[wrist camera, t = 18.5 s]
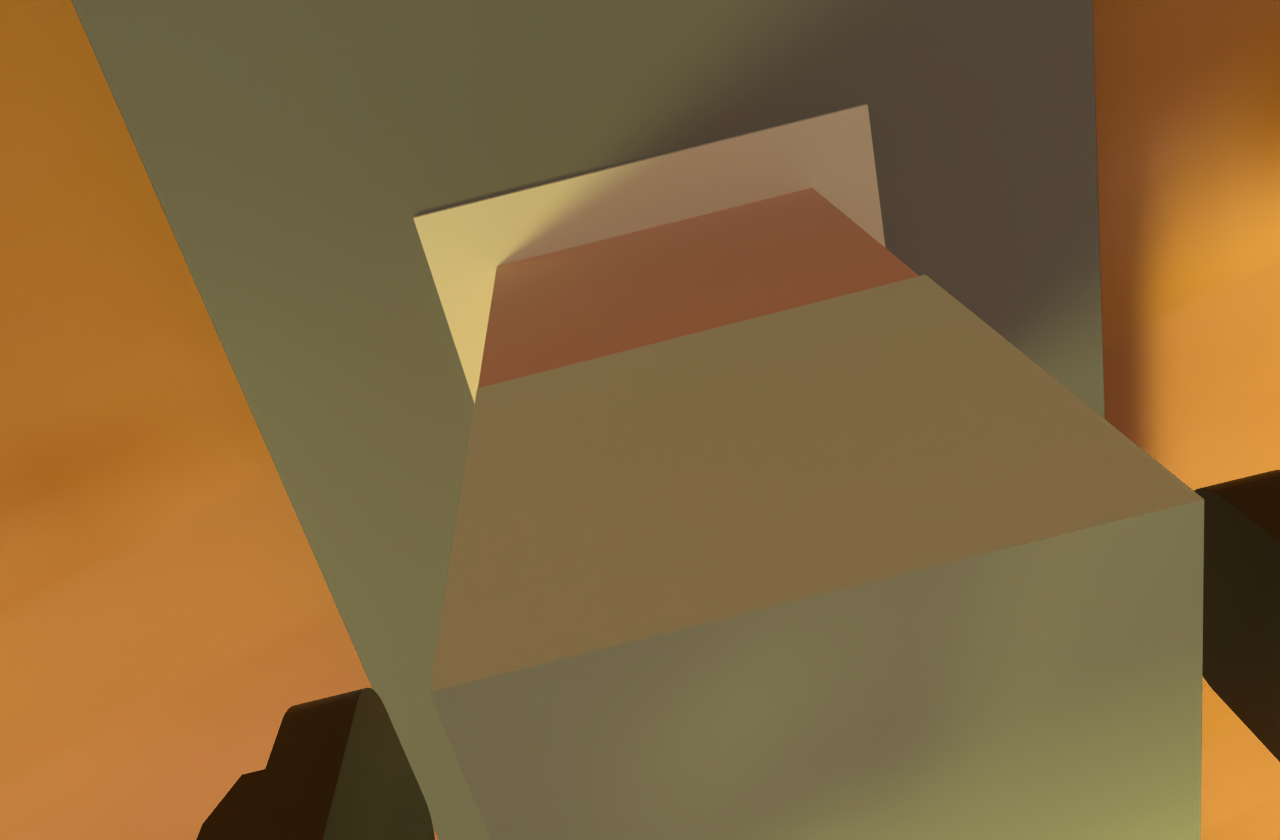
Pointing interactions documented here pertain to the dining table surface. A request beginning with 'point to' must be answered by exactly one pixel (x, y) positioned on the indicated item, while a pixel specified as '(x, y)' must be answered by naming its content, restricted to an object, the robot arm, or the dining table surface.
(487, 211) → the base plate
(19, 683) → the dining table surface
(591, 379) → the sage block
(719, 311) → the terracotta block
